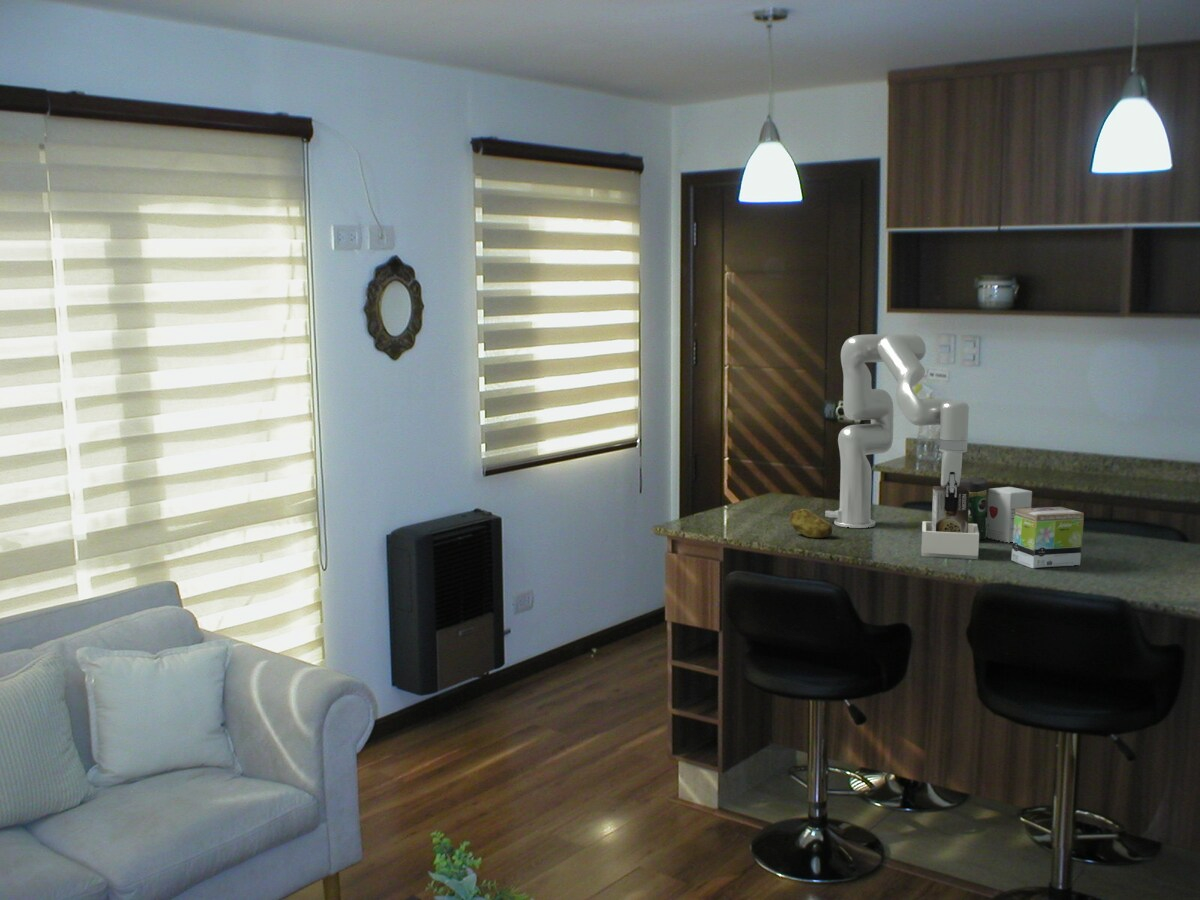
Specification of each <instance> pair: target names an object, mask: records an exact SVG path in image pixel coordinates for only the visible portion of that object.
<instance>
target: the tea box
mask: <svg viewBox="0 0 1200 900" xmlns="http://www.w3.org/2000/svg"><path fill="white" fill-rule="evenodd" d="M1084 515H1085V513H1084V512H1081V511H1077V510H1075V509H1070V508H1066V507H1063V506H1048V507H1031V508H1021V509H1015V516H1014V529H1013V543H1011V544H1012V548H1011V556H1010V557H1011V558H1010V559H1011V561H1012V562H1015V563H1017V564H1019V565H1022V566H1023V567H1024V566H1026V567H1028V568H1031V569H1037V568H1038V569H1039V568H1051V567H1053V568H1054V567H1056V568H1057V567H1074V565H1079V566H1080V565H1081V560H1082V559H1081V558H1082V549H1083V548H1082V547H1083V533H1084V520H1085V519H1084V518H1085V517H1084Z"/></svg>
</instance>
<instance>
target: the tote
mask: <svg viewBox="0 0 1200 900" xmlns="http://www.w3.org/2000/svg"><path fill="white" fill-rule="evenodd" d="M979 543H980V540H979V531H978V527H977V524H968V533H956V532H936V531H932V521H926V520H925V521H922V524H921V551H920V553H921V555H920V556H921V557H929V558H946V559H965V560H966V559H967V560H979V548H980V547H979V546H980V545H979Z"/></svg>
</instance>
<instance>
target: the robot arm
mask: <svg viewBox="0 0 1200 900" xmlns="http://www.w3.org/2000/svg"><path fill="white" fill-rule="evenodd" d="M926 350H927V348H926V344H925V341H924V339H923V338H922V337H921V336H919V335H917V334H915V333H894V334H893V333H892V334H891V333H888V334H887V333H885V334H881V333H879V334H878V333H877V334H873V333H872V334H858V335H852V336H851V337H849V338H847V339H846V340H845V341H844V343H843V345H842V346H841V350H840V363H841V367H842V374H843V384H842V386H843V387H842V388H843V391H842V392H843V394H842V395H843V396H842V397H843V398H842V401H843V403H842V404H843V414H844V416H845V417H846V418H847V419H848V420H851V421H865V420H866V421H867V420H868V421H869V420H870V423H864V424H863V423H862V424H861V423H860V424H859V423H858V424H851V425H847V426H845V427H844V428H843V427H842V428H841V430H840V431H839V433H838V438H837V444H838V449H839V458H840V482H839V483H840V484H839V490H840V491H839V508H838V509H837V510H834V511H833V510H825V512H824V513H825V514H824V517H825V518H826V517H828V518H835V519H834V521H833V523H834V525H835V526H838V527H842V528H847V527H849V529H867V528H868V527H869V528H873V527H875V526H876V521H875V520H874V519H872V518H871V512H872V511H871V508H872V507H871V505H872V472H873V471H872V467H871V466H872V465H871V464H870V461H869V460H868V458H867V455H877V454H878V455H879V454H880V455H881V454H885V453H887V452H888V451H889V450H890V449H891V448H892V445H893V442H894V402H893V399H892V397H891V395H890V393H889V392H888V391H887V390H885V389H882V388H872V374H871V372H870V369H869V367H868V365H867V364H866V363H884V365H886V366H885V367H887V369H888V370H889V372H890V373H891V375H892V376H893V377H894V379H895V381H897V387H896V393H895V395H896V402H897V405H898V407H899V409H900V411H901V412H902V414H903V415H904V416H905V418H906V419H907V421H908V422H910V423H911V424H912V425H915V426H919V427H920V426H921V427H922V426H923V427H924V426H939V437H938V438H939V440H938V442H939V443H938V451H939V452H941V453H942V454H941V455H942V456H941V471H940V472H941V473H940V474H941V476H940V486H942V487H944V486H946V497H945V511H953V512H956V511H957V497H956V495H957V488H958V487H959V484H960V480H961V477H962V466H963V465H962V464H963V453H967V452H968V439H969V438H968V435H969V412H970V411H969V410H970V406H969V404H968V403H967V402H965V401H960V400H959V401H958V400H952V399H949V398H945V397H942V398H941V397H938V398H933V397H932V398H919V397H918V395H917V394H916V392H915V391H914V389H913V387H914V386H916V385H917V384H919V383H921V381H922V379H924V376H925V374H926V369H925V366H924V365H923V364H922V363H921V361H922V359H924V357H925V356H926Z"/></svg>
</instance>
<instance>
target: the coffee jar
mask: <svg viewBox="0 0 1200 900" xmlns="http://www.w3.org/2000/svg"><path fill="white" fill-rule="evenodd" d="M959 486H965V487H966V488H967V489H968V490H969V513H968V524H977V527H978V531H979V541H983V539H985V538H986V533H987V514H986V504H987V502H986V501H987V494H988V493H987V492H988V481H987V480H986V479H985V478H984V477H981V476H980V477H978V476H970V477H966V478H962V479H961V478H960V484H959Z"/></svg>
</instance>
